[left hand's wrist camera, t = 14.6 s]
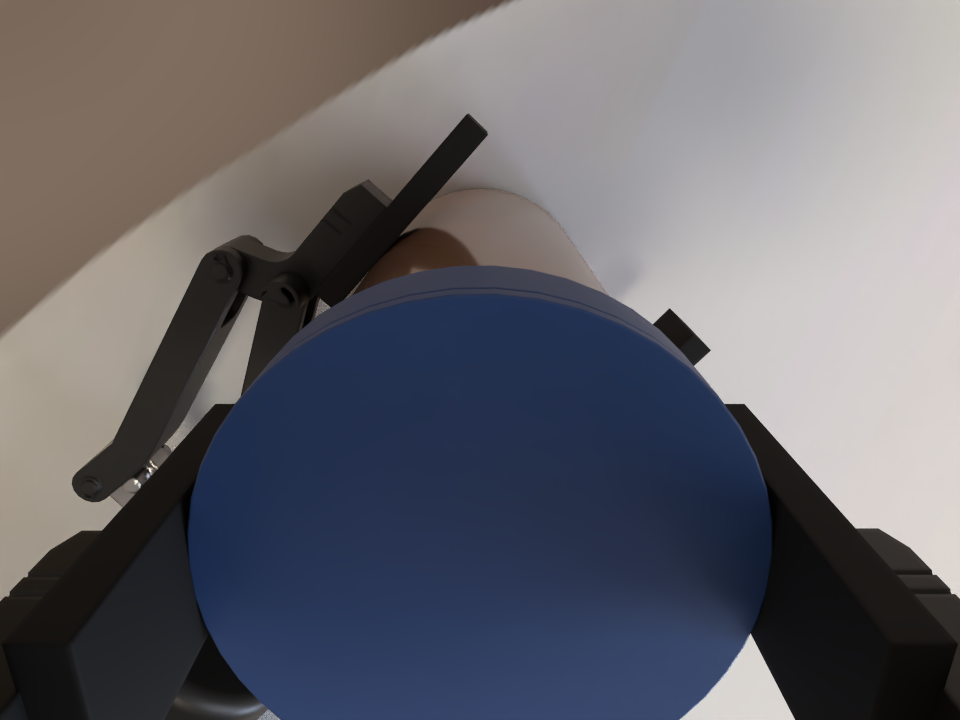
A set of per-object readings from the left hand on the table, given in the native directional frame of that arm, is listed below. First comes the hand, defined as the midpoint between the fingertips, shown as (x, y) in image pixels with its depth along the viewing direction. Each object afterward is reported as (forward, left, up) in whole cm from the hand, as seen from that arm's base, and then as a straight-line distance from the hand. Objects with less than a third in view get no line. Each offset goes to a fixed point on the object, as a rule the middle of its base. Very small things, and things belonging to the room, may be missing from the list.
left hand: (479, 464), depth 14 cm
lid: (0, 0, +3) cm, 3 cm away
